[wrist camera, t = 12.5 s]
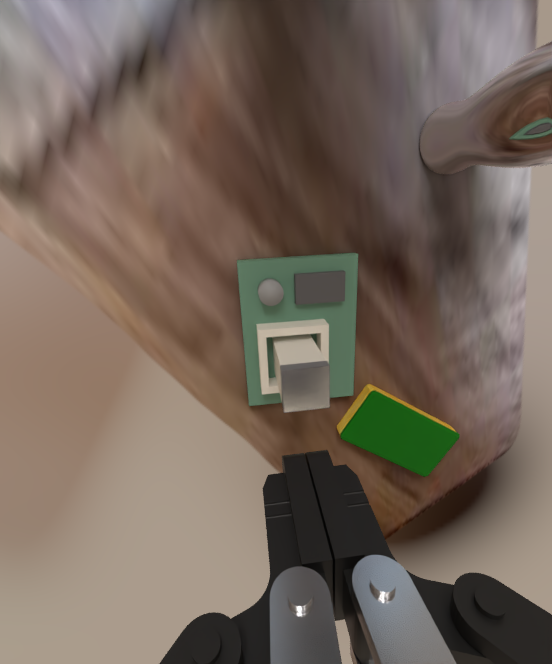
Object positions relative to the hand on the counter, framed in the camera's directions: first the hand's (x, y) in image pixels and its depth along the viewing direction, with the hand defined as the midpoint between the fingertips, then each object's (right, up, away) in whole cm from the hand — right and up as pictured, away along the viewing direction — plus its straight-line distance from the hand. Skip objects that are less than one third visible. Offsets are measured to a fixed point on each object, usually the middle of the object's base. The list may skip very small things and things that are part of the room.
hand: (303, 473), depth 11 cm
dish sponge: (+14, -7, +32) cm, 36 cm away
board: (+2, +5, +26) cm, 26 cm away
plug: (+1, +2, +25) cm, 26 cm away
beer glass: (+16, +23, +21) cm, 35 cm away
